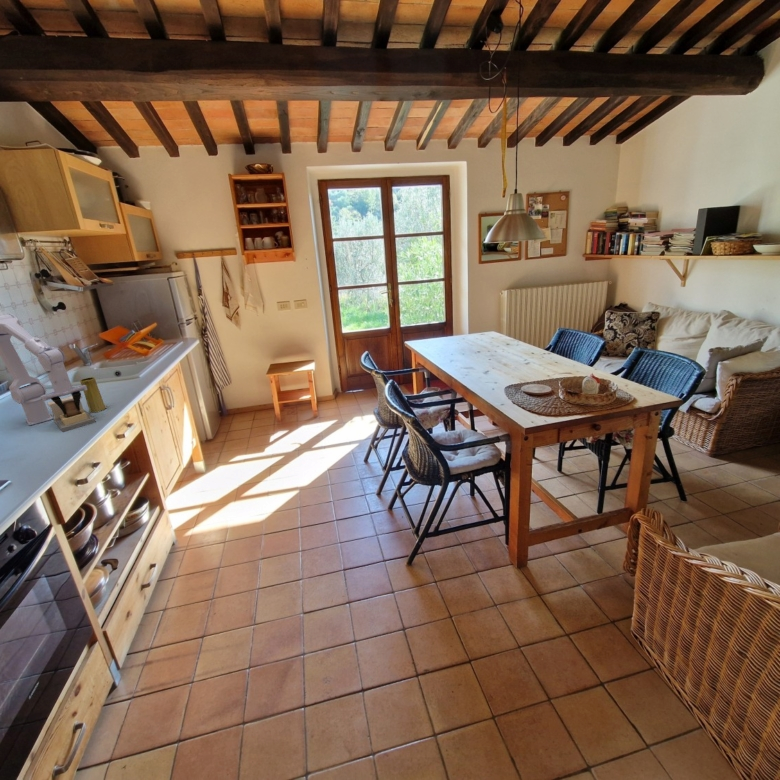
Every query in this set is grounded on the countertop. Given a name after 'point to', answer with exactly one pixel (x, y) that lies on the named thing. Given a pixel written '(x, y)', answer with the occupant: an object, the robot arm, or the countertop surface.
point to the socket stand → (73, 421)
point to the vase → (93, 395)
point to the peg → (70, 408)
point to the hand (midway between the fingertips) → (71, 412)
